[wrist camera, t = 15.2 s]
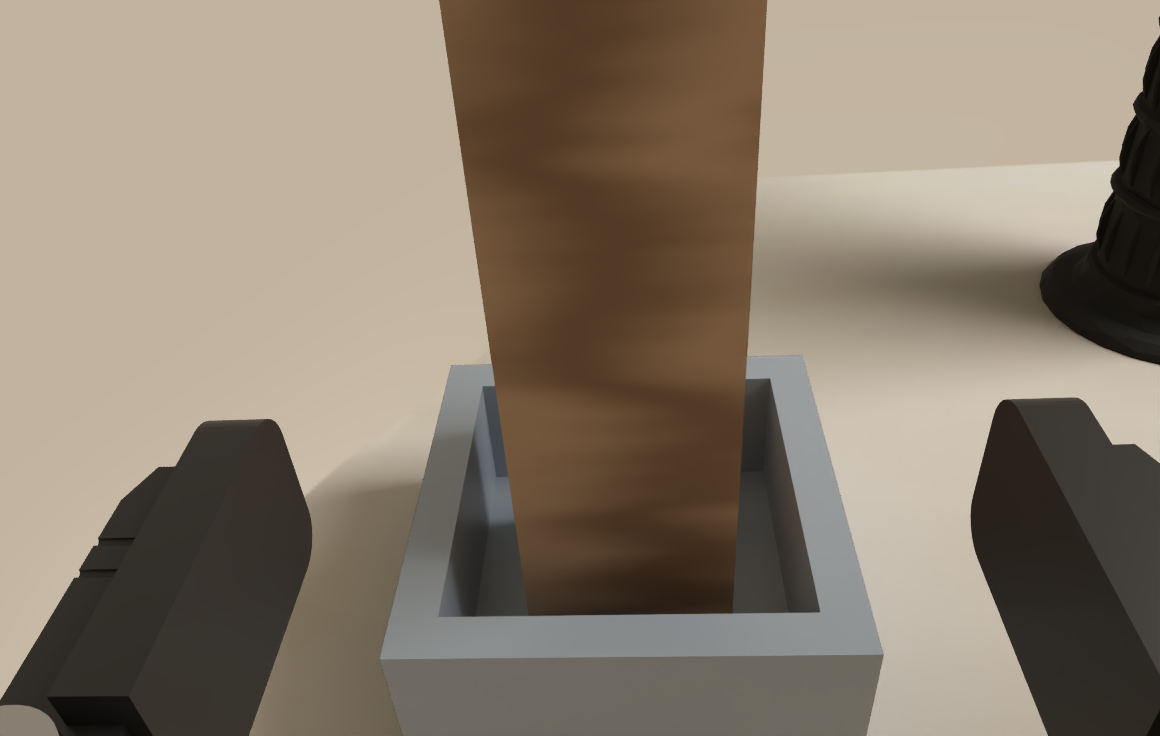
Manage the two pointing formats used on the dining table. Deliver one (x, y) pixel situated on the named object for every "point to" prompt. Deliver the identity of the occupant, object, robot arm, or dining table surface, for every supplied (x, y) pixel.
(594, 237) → the walnut handle block
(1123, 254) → the handle grip
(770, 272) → the dining table surface
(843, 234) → the dining table surface
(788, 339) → the dining table surface
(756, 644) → the box
